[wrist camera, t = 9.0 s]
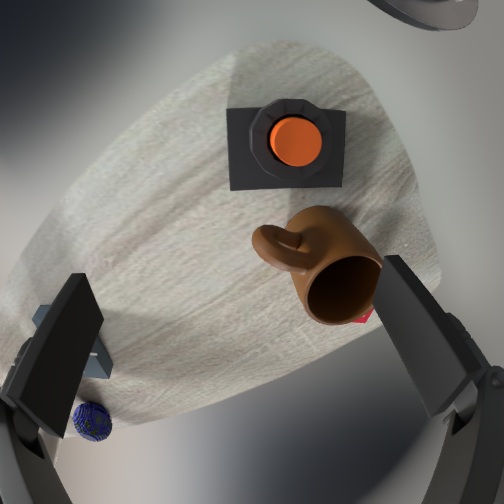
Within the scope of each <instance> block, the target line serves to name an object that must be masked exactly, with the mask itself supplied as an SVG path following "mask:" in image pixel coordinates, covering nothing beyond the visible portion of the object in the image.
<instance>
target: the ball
mask: <svg viewBox="0 0 504 504" xmlns="http://www.w3.org/2000/svg"><path fill="white" fill-rule="evenodd" d="M73 421H74V425H75V427H76V430H77V432H78V433H80V435H81V436H82V437H83V438H86V439H88V440H91V441H94V442H95V441H101V440H104V439H106V438H107V437H108V436H109V434H110V433H111V430H112V423H111V421H112V417H110V416H109V414H108V413H107V411H105V409H104V408H103V407H101V406H99V405H97V404H94V403H88V402H87V403H85V404H81V405H79V407H77V408H76V410H75V411H74V415H73Z"/></svg>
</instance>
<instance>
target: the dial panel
mask: <svg viewBox="0 0 504 504" xmlns="http://www.w3.org/2000/svg"><path fill="white" fill-rule="evenodd" d="M50 306H51V305H40V307H39V308H38V310H37V312H36V313H35V315H34V316H33V318H32V320H33V322H34V324H35V325H36V327H37V328H38V327H39V325H40V323H41V321H42V320H43V318H44V316H45V315H46V313H47V311H48V310H49V308H50ZM112 367H113V363H112V361H111V359H110V357H109V356H108V354H107V352H106V350H105V348H104V346H103V345H102V343H101V341H100V339H99V337H98V335H97V338H96V340H95V343H94V345H93V348H92V350H91V353H90V356H89V358H88V361H87V364H86V367H85V369H84V372H83V375H82V376H83V377H92V378H102V379H109V378H110V375H111V371H112Z"/></svg>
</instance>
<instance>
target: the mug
mask: <svg viewBox="0 0 504 504" xmlns="http://www.w3.org/2000/svg"><path fill="white" fill-rule="evenodd" d="M252 245H253V247H254V249H255V251H256V252H257V254H258V255H259V256H260V257H261V258H262V259H263V260H264V261H266V262H267V263H269V264H270V265H272V266H274V267H276V268H278V269H280V270H283V271H289V272H290V273H291V276H292V279H293V282H294V285H295V288H296V290H297V293H298V296H299V298H300V300H301V302H302V304H303V306H304V308H305V310H306V312H307V314H308V315H309V316H310V317H311V318H312V319H314V320H315V321H317V322H319V323H322V324H325V325H342V324H347V323H350V322H353V321H355V320H357V319H359V318H361V317H363V316H364V315H366V314H367V313H368V312H370V311H371V310H372V309H373V308H374V307H373V305H372V300H373V297H374V293H375V290H376V286H377V283H378V279H379V275H380V272H381V268H382V264H383V260H382V259H381V257H380V256H379V254H378V253H377V251H376V250H375V248H374V247H373V246H372V245H371V244H370V242H369V241H368V240H367V239H366V238H365V237H364V236H363V235H362V233H361V232H360V231H359V230H358V229H357V228H356V227H355V226H354V225H353V224H352V223H351V222H350V221H349V220H348V219H347V218H346V217H345V216H344V215H343V214H342V213H341V212H339V211H338V210H336V209H334V208H331V207H327V206H314V207H310V208H307V209H305V210H303V211H301V212H299V213H298V214H297V215H295V216H294V217H293V218H292V219H291V220H290V222H289V223H288V224H287V226H286V228H285V229H283V228H281V227H278V226H275V225H262V226H260V227H258V228H257V229H256V230H255V231H254V232H253V235H252Z"/></svg>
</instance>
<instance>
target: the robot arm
mask: <svg viewBox="0 0 504 504" xmlns="http://www.w3.org/2000/svg"><path fill="white" fill-rule="evenodd" d="M435 1H449V0H435ZM456 1H461V0H456ZM372 305H373V307H374V309H375V311H376V312H377V314H378V316H379V318H380V320H381V321H382V323H383V325H384V327H385V329H386V330H387V332H388V334H389V336H390V338H391V340H392V342H393V344H394V345H395V347H396V349H397V351H398V353H399V355H400V357H401V359H402V361H403V363H404V365H405V367H406V368H407V371H408V373H409V375H410V377H411V379H412V381H413V383H414V385H415V387H416V389H417V392H418V394H419V396H420V398H421V400H422V402H423V405H424V407H425V409H426V411H427V414H428V416H429V418H430V417H433V416H435V415H437V414H440V413H442V412H444V411H445V410H446V409H447V408H448V407H449V406H450V405H451V404H452V403H453V405H454V407H455V408H454V409H453V410H452V411H451V412H450V414H448V416H446V417H445V418H444V420H443V422H442V424H445V423H446V422H447V420H449V419H450V421H449V423H448V424H447V425H448V429H447V433H446V437H445V440H444V444H443V447H442V450H441V453H440V457H439V460H438V463H437V466H436V469H435V471H434V474H433V477H432V480H431V482H430V485H429V487H428V490H427V492H426V494H425V497H424V499H423V501H422V504H504V369H503V368H501V367H500V366H492V367H491V365H490V364H489V363H488V361H487V360H486V358H485V356H484V355H483V354H482V352H481V350H480V349H479V347H478V346H477V345H476V343H475V341H474V340H473V339H472V338H471V336H470V334H469V333H468V332H467V331H466V329H465V327H464V326H463V325H462V323H461V322H460V320H458V319H457V318H456V317H455V316H454V315H452V314H451V313H445V312H444V311H443V309H442V308H441V307H440V305H439V304H438V303H437V301H436V300H435V299H434V297H433V296H432V295H431V294H430V292H429V291H428V290H427V288H426V287H425V286H424V285H423V284H422V282H421V281H420V280H419V279H418V277H417V276H416V275H415V274H414V273H413V271H412V270H411V269H410V268H409V267H408V265H407V264H406V263H405V262H404V261H403V260H402V258H401V257H400V256H399V255H388V256H384V260H383V264H382V268H381V272H380V275H379V279H378V283H377V286H376V290H375V293H374V297H373V300H372ZM103 321H104V318H103V315H102V313H101V311H100V309H99V306H98V304H97V302H96V299H95V297H94V294H93V292H92V290H91V287H90V284H89V282H88V279H87V277H86V274H85V273H73V274H71V276H70V277H69V279H68V280H67V282H66V283H65V285H64V286H63V288H62V289H61V291H60V292H59V294H58V295H57V297H56V298H55V300H54V302H53V303H52V305H51V306H50V308H49V310H48V311H47V313H46V315H45V316H44V318H43V320H42V321H41V323H40V325H39V327H38V328H37V330H36V332H35V334H34V336H33V337H30V338H29V339H28V340H27V341H26V342H25V343H24V344H23V345H22V347H21V349H20V351H19V353H18V355H17V358H15V360H14V362H13V366H11V369H10V371H9V373H8V375H7V377H6V379H5V381H4V383H3V386H2V388H1V390H0V504H72V502H71V500H70V498H69V496H68V494H67V493H66V491H65V489H64V487H63V485H62V483H61V481H60V479H59V476H58V474H57V472H56V470H55V468H54V465H53V463H52V461H51V458H50V456H49V453H48V451H47V448H46V446H45V443H44V441H43V438H42V436H41V435H40V433H38V432H39V428H41V429H42V430H44V431H45V432H46V433H47V434H49V435H52V436H55V437H58V438H62V439H63V437H64V434H65V430H66V426H67V423H68V419H69V416H70V412H71V409H72V405H73V402H74V399H75V396H76V393H77V390H78V387H79V384H80V381H81V378H82V375H83V372H84V369H85V367H86V364H87V361H88V358H89V356H90V353H91V350H92V348H93V345H94V343H95V340H96V338H97V335H98V333H99V330H100V328H101V326H102V323H103Z"/></svg>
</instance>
